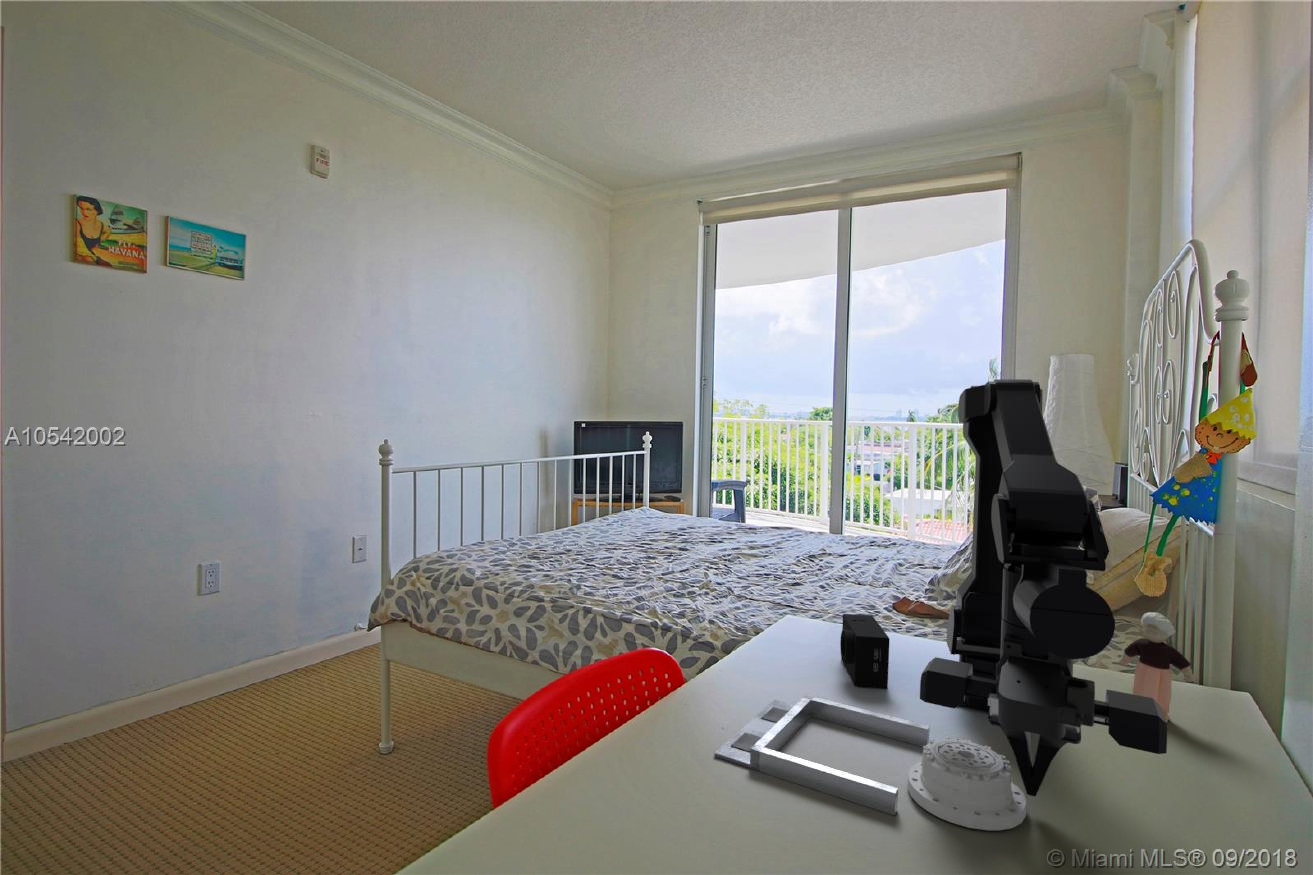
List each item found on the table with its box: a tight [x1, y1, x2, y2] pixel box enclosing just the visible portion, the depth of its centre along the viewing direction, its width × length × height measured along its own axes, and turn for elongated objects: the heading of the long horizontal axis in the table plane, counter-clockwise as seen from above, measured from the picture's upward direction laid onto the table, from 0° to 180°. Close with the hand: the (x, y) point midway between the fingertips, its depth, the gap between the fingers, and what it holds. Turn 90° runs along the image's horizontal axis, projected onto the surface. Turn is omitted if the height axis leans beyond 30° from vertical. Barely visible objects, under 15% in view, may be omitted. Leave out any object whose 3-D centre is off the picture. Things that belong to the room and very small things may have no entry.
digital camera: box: [839, 613, 890, 690], centre depth 93 cm, size 10×5×7 cm, turn 174°
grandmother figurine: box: [1118, 611, 1196, 721], centre depth 82 cm, size 8×4×13 cm, turn 47°
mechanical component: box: [907, 736, 1027, 831], centre depth 62 cm, size 10×4×10 cm
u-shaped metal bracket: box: [713, 694, 930, 816], centre depth 71 cm, size 16×18×2 cm
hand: (1031, 793), depth 61 cm, fingers closed
